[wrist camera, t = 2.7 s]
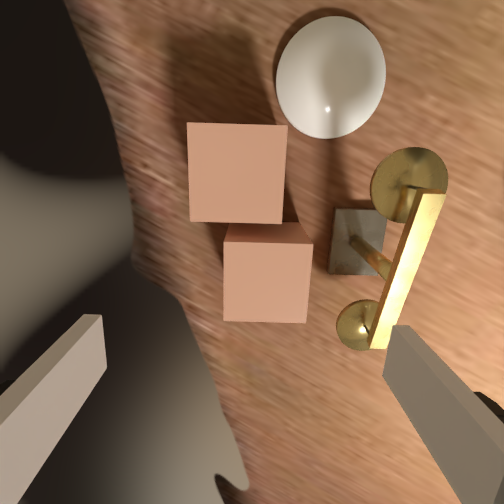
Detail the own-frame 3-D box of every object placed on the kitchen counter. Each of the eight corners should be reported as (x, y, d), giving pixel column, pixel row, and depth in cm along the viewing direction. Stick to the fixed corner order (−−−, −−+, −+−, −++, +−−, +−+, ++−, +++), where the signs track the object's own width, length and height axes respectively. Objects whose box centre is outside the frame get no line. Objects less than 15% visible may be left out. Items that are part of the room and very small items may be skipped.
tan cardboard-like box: (203, 129, 34) (186, 122, 25) (278, 131, 34) (287, 125, 25) (204, 204, 36) (190, 221, 28) (274, 206, 37) (281, 224, 28)
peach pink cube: (230, 220, 37) (223, 241, 28) (299, 222, 37) (313, 244, 29) (229, 283, 40) (223, 320, 31) (294, 285, 40) (305, 323, 31)
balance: (340, 147, 34) (399, 145, 21) (394, 148, 34) (490, 148, 21) (321, 318, 41) (356, 404, 27) (366, 319, 41) (424, 405, 27)
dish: (278, 18, 31) (279, 14, 30) (389, 22, 31) (394, 18, 30) (273, 137, 34) (273, 137, 33) (373, 140, 34) (376, 140, 33)
